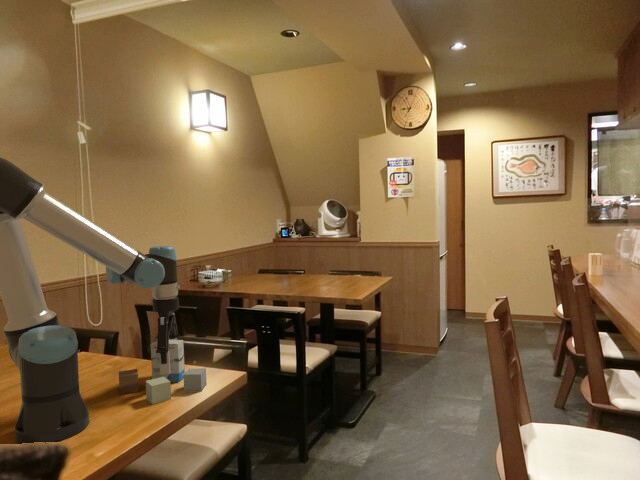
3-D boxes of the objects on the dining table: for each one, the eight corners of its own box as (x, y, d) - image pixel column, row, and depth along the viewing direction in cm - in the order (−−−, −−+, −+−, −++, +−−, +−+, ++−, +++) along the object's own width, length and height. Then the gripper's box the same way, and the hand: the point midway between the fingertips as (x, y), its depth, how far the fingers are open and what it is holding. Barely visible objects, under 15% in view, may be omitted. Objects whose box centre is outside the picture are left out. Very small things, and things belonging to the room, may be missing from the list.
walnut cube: (138, 391, 130) (137, 374, 130) (119, 394, 128) (118, 376, 128) (138, 385, 135) (137, 368, 134) (119, 388, 133) (118, 371, 133)
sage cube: (171, 399, 124) (170, 381, 123) (152, 404, 120) (151, 386, 120) (164, 394, 127) (163, 376, 127) (146, 398, 124) (145, 380, 124)
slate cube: (201, 391, 129) (200, 374, 128) (184, 391, 129) (183, 374, 128) (206, 385, 134) (205, 368, 133) (189, 385, 134) (189, 368, 133)
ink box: (185, 376, 141) (184, 339, 140) (179, 382, 136) (177, 343, 135) (159, 376, 142) (157, 339, 141) (151, 382, 137) (149, 343, 136)
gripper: (170, 304, 126) (175, 379, 127) (184, 289, 150) (188, 352, 152) (142, 306, 125) (147, 382, 126) (160, 290, 149) (164, 354, 151)
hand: (169, 366), depth 139 cm, fingers open, 13 cm apart
